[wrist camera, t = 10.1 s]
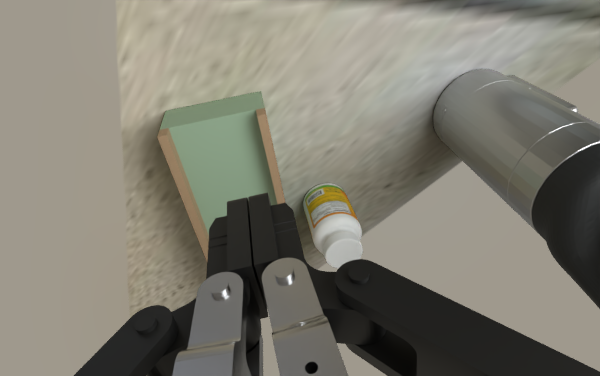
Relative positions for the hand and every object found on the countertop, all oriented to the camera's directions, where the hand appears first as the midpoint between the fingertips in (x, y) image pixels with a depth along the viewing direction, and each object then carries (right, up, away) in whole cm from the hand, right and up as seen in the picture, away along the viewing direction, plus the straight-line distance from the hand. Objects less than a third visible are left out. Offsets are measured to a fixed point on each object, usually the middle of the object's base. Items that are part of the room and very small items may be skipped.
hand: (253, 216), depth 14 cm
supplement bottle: (+5, 0, +34) cm, 34 cm away
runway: (-5, +1, +31) cm, 32 cm away
